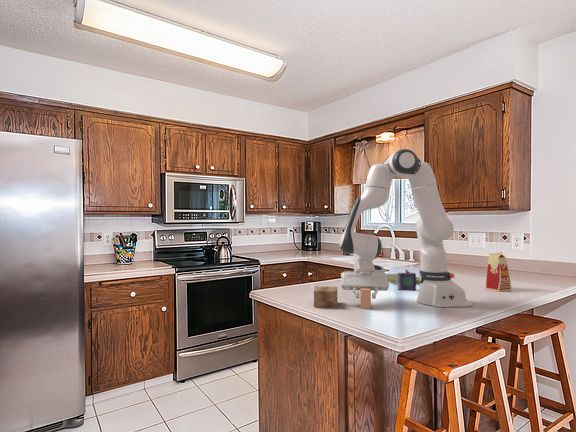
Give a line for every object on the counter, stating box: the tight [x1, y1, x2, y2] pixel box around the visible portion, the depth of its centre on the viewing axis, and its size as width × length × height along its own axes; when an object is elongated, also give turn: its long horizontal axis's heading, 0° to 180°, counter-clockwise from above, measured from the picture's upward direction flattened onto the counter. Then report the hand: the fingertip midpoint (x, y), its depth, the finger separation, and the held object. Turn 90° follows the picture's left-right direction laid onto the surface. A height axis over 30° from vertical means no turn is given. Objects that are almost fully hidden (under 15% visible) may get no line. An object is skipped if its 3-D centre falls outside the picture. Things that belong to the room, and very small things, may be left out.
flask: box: [397, 269, 417, 292], centre depth 191 cm, size 9×3×11 cm, turn 80°
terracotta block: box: [360, 288, 372, 310], centre depth 156 cm, size 4×4×8 cm
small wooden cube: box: [313, 285, 338, 309], centre depth 161 cm, size 10×10×7 cm
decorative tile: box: [386, 273, 420, 286], centre depth 215 cm, size 19×20×4 cm
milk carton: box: [485, 251, 513, 293], centre depth 191 cm, size 9×9×20 cm
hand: (365, 297), depth 155 cm, fingers open, 5 cm apart
